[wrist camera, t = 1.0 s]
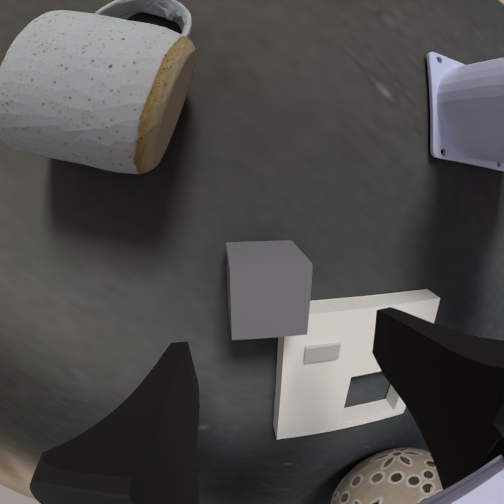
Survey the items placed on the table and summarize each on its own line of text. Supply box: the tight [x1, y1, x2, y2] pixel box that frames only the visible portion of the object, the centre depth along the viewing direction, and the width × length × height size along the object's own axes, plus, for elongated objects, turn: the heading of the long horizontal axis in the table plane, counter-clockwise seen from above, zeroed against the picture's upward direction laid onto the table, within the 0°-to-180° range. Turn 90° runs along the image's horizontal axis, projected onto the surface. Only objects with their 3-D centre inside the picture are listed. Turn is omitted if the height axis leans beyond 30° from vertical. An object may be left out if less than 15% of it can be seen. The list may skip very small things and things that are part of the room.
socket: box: [273, 289, 440, 439], centre depth 22 cm, size 12×12×2 cm
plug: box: [226, 240, 313, 340], centre depth 17 cm, size 4×4×5 cm
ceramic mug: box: [0, 0, 197, 174], centre depth 11 cm, size 11×8×8 cm
